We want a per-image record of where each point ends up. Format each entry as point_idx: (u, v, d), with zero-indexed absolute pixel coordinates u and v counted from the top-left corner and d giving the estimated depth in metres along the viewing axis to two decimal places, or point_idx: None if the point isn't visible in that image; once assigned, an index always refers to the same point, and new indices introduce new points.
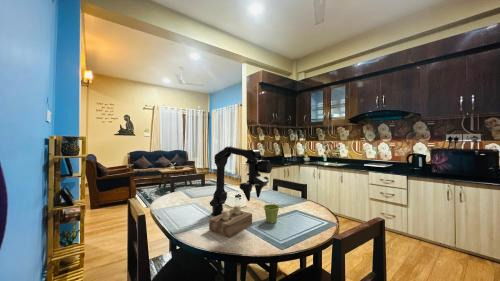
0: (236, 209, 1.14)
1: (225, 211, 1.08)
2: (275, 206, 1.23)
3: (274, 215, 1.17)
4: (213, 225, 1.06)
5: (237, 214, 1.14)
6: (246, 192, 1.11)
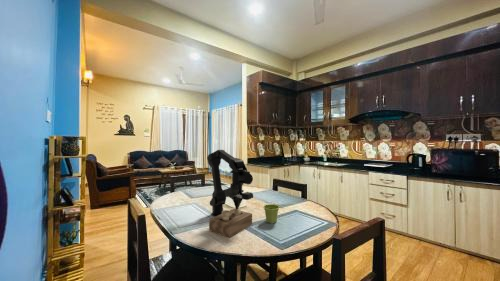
0: (236, 211, 1.14)
1: (225, 211, 1.08)
2: (275, 206, 1.23)
3: (274, 215, 1.17)
4: (213, 225, 1.06)
5: None
6: None
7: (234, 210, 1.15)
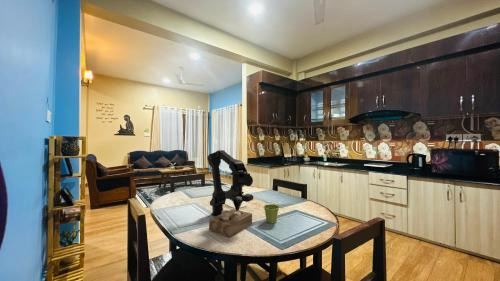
0: None
1: (225, 211, 1.08)
2: (275, 206, 1.23)
3: (274, 215, 1.17)
4: (213, 225, 1.06)
5: None
6: None
7: (234, 214, 1.15)
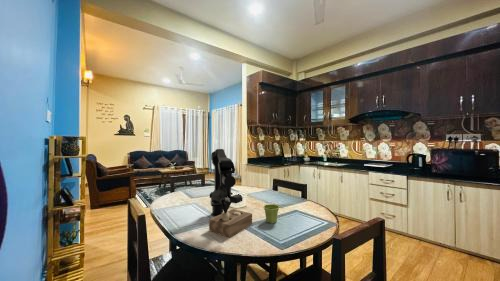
0: None
1: None
2: (275, 206, 1.23)
3: (274, 215, 1.17)
4: (213, 225, 1.06)
5: None
6: None
7: (234, 214, 1.15)
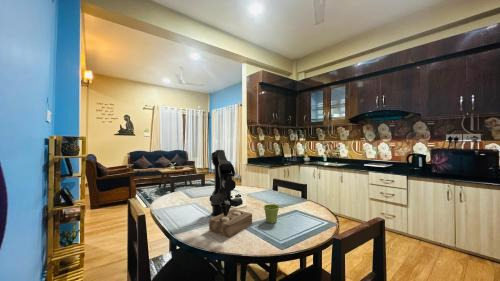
0: None
1: (225, 218, 1.08)
2: (275, 206, 1.23)
3: (274, 215, 1.17)
4: (213, 225, 1.06)
5: None
6: None
7: (234, 214, 1.15)
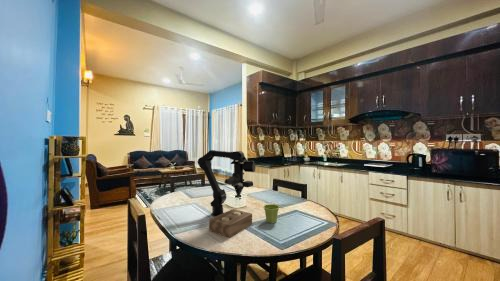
0: None
1: (225, 218, 1.08)
2: (275, 206, 1.23)
3: (274, 215, 1.17)
4: (213, 225, 1.06)
5: None
6: None
7: (234, 214, 1.15)
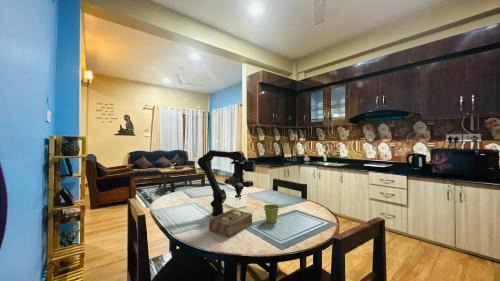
0: None
1: (225, 218, 1.08)
2: (275, 206, 1.23)
3: (274, 215, 1.17)
4: (213, 225, 1.06)
5: None
6: None
7: (234, 214, 1.15)
